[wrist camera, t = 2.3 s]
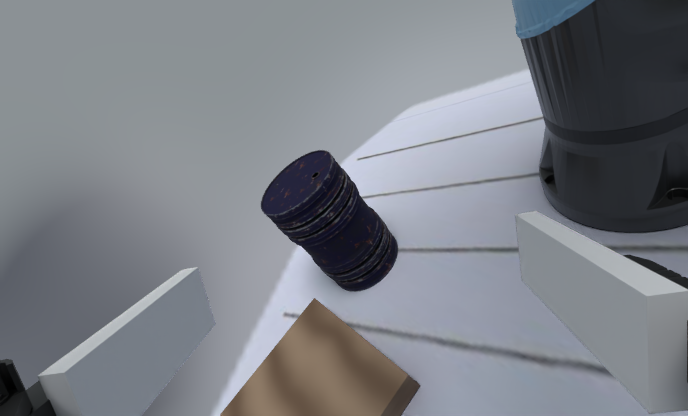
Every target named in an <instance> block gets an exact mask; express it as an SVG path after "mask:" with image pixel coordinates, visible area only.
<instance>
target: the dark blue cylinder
mask: <svg viewBox="0 0 688 416" xmlns="http://www.w3.org/2000/svg"><path fill="white" fill-rule="evenodd" d="M261 209H262V211H263V212H264V214H266V215H267V216H268V217H269V218H270V219H271V220H272V221H273V222H274V223H275V224H276V225H277V227H278V228H279V229H280V230H281V231H282V232H283V233H284V234H285V235H287V236H288V237H289V239H290V240H291V241H292V242H295V243H296V244H297V245H300V246H302V247H303V248H304V249H305V250H306V251H307V252H308V253H309V254H310V255H311V256H312V258H313V260H314V262H315V263H316V264H317V265H318V266H319V267H320V268H321V269H322V271H323V272H324V273H325V274H326V275H327V276H329V277H330V278H332V279H333V280H334V281H335V282H336V283H337V284H338V285H339V286H340V287H341V288H343V289H345V290H348V291H362V290H365V289H368V288H370V287H372V286H374V285H375V284H377V283H378V282H380V281H381V280H382V279H383V278H384V277H385V276H386V275H387V274H388V273H389V271H390V270H391V268H392V267H393V265H394V263H395V261H396V258H397V253H398V245H397V242H396V240H395V238H394V236H393V235H392V234H391V233H390V232H389V230H388V228H387V226H386V224H385V223H384V222H383V220H382V219H381V218H380V217H379V215H378V214H377V213H376V212H375V211H374V210H373V209H372V208H370V207H368V205H367V204H366V203H365V202H364V200H363V199H362V198H361V196H360V195H359V191H358V189H357V187H356V185H355V183H354V182H353V181H351V179H350V177H349V176H348V174H347V173H346V172H345V171H344V169H342V168H341V167H340V166H339V164H338V163H337V162H336V161H335V159H334V158H333V156H332V155H331V154H330V153H329V152H328V151H325V150H318V151H314V152H311V153H308V154H305V155H303V156H302V157H300V158H298V159H296V160H295V161H293V162H292V163H291V164H289V165H288V166H287V167H286V168H284V169H283V170H282V171H281V172H280V173H279V174H278V175H277V176H276V177H275V178H274V180H273V181H272V182H271V183H270V185H269V186H268V188H267V189H266V191H265V193H264V195H263V197H262V201H261Z"/></svg>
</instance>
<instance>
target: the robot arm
mask: <svg viewBox="0 0 688 416" xmlns="http://www.w3.org/2000/svg"><path fill="white" fill-rule="evenodd" d="M512 3H513V8H514V12H515V17H516V21H517V23H516V26H515V27H516V34H517V36H518V37H519V38H520V39H521V42H522V46H523V49H524V53H525V56H526V59H527V63H528V66H529V70H530V73H531V77H532V80H533V83H534V87H535V90H536V94H537V97H538V100H539V104H540V107H541V111H542V114H543V117H544V121H545V125H546V127H545V134H544V140H543V146H542V152H541V158H540V164H539V174H540V180H541V183H542V186H543V189H544V192H545V195H546V197H547V199H548V200H549V202H550V203H551V204H552V206H553V207H554V208H555V209H557V210H558V211H559V212H560V213H562V214H563V215H565V216H566V217H568V218H570V219H572V220H574V221H576V222H578V223H581V224H584V225H587V226H590V227H594V228H599V229H604V230H611V231H621V232H645V231H656V230H663V229H669V228H674V227H678V226H682V225H686V224H688V0H512ZM515 219H516V229H517V238H518V248H519V258H520V267H521V277H522V281H523V282H524V283H525V284H526V285H527V286H528V287H529V288H530V289H531V290H532V292H533V293H534V294H535V295H536V296H537V297H538V298H539V299H540V300H541V301H542V302H543V303H544V304H545V305H546V306H547V307H548V308H549V309H550V310H551V311H552V312H553V313H554V314H555V316H556V317H557V318H558V319H559V320H560V321H561V322H562V323H563V324H564V325H565V326H566V327H567V328H568V329H569V330H570V331H571V332H572V333H573V334H574V335H575V336H576V337H577V339H578V340H579V341H580V342H581V343H582V344H583V345H584V346H585V347H586V348H587V349H588V350H589V351H590V352H591V353H592V354H593V355H594V356H595V357H596V358H597V359H598V360H599V361H600V363H601V364H602V365H603V366H604V367H605V368H606V369H607V370H608V371H609V372H610V373H611V374H612V375H613V376H614V377H615V378H616V379H617V380H618V381H619V382H620V383H621V384H622V385H623V387H624V388H625V389H626V390H627V391H628V392H629V393H630V394H631V395H632V396H633V397H634V398H635V399H636V400H637V401H638V402H639V403H640V404H641V405H642V406H643V407H644V408H645V410H646V411H647V412H648V413H649V414H652V413H663V412H674V411H685V410H688V278H686V277H681V275H680V274H678V273H675V272H673V271H671V270H667V268H665V267H663V266H661V265H659V264H657V263H655V262H653V261H651V260H647V259H643V258H639V257H635V256H631V255H624V256H622V255H620V254H618V253H616V252H615V251H613V250H611V249H609V248H607V247H605V246H603V245H601V244H599V243H597V242H595V241H593V240H591V239H589V238H587V237H586V236H584V235H582V234H580V233H578V232H576V231H574V230H572V229H570V228H568V227H566V226H564V225H562V224H560V223H559V222H557V221H555V220H553V219H551V218H549V217H547V216H545V215H543V214H541V213H539V212H537V211H532V212H526V213H520V214H515ZM215 324H216V323H215V320H214V316H213V313H212V310H211V307H210V303H209V300H208V297H207V294H206V290H205V287H204V284H203V281H202V277H201V274H200V271H199V268H198V267H196V268H189V269H184V270H181V271H180V272H178V273H177V274H176V275H174V276H173V277H171V278H170V279H169V280H167V281H166V282H165V283H163V284H162V285H161V286H159V287H158V288H157V289H155V290H154V291H152V292H151V293H150V294H148V295H147V296H146V297H145V298H143V299H142V300H140V301H139V302H137V303H136V304H135V305H133V306H132V307H131V308H129V309H128V310H127V311H125V312H124V313H123V314H121V315H120V316H118V317H117V318H116V319H114V320H113V321H112V322H110V323H109V324H108V325H106V326H105V327H103V328H102V329H101V330H99V331H98V332H97V333H95V334H94V335H93V336H91V337H90V338H88V339H87V340H86V341H84V342H83V343H82V344H80V345H79V346H78V347H76V348H75V349H74V350H72V351H71V352H69V353H68V354H67V355H65V356H64V357H63V358H61V359H60V360H59V361H57V362H56V363H55V364H53V365H52V366H50V367H49V368H48V369H46V370H45V371H44V372H42V373H41V374H39V375H38V378H39V381H38V382H37V383H35V384H34V385H33V386H31V387H30V388H29V389H27V390H25V387H24V385H23V383H22V381H21V379H20V377H19V374H18V372H17V370H16V368H15V365H14V363H13V361H12V360H9V359H5V360H0V416H142V414H143V413H144V412H145V411H146V409H147V408H148V407H149V406H150V404H151V403H152V402H153V401H154V400H155V398H156V397H157V396H158V395H159V393H160V392H161V391H162V390H163V388H164V387H165V386H166V385H167V384H168V382H169V381H170V380H171V379H172V377H173V376H174V375H175V374H176V372H177V371H178V370H179V369H180V368H181V366H182V365H183V363H185V361H186V360H187V359H188V358H189V356H190V355H191V354H192V353H193V352H194V350H195V349H196V348H197V347H198V345H199V344H200V343H201V342H202V340H203V339H204V338H205V337H206V335H207V334H208V333H209V332H210V331H211V329H212V328H213V327H214V326H215Z"/></svg>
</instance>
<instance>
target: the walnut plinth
mask: <svg viewBox="0 0 688 416" xmlns="http://www.w3.org/2000/svg"><path fill="white" fill-rule="evenodd" d="M419 387H420V385H419V384H418V383H417V382H416V381H415V380H414V379H412V378H411V377H410V376H409V375H408V374H407V373H405V372H404V371H403V370H402V369H401V368H399V367H398V366H397V365H396V364H394V363H393V362H392V361H391V360H390V359H388V358H387V357H386V356H385V355H383V354H382V353H381V352H380V351H379V350H377V349H376V348H375V347H374V346H372V345H371V344H370V343H369V342H368V341H366V340H365V339H364V338H363V337H361V336H360V335H359V334H358V333H357V332H355V331H354V330H353V329H352V328H350V327H349V326H348V325H347V324H346V323H344V322H343V321H342V320H341V319H339V318H338V317H337V316H336V315H335V314H333V313H332V312H331V311H330V310H328V309H327V308H326V307H325V306H324V305H322V304H321V303H320V302H319V301H317V300H316V299H315V298H314V299H313V300H312V302H311V303H310V304H309V305H308V307H307V308H306V309H305V310H304V312H303V313H302V314H301V315H300V316H299V318H298V319H297V320H296V321H295V323H294V324H293V325H292V326H291V328H290V329H289V330H288V331H287V333H286V334H285V335H284V336H283V338H282V339H281V340H280V341H279V343H278V344H277V345H276V346H275V347H274V349H273V350H272V351H271V352H270V354H269V355H268V356H267V357H266V359H265V360H264V361H263V362H262V364H261V365H260V366H259V367H258V369H257V370H256V371H255V372H254V374H253V375H252V376H251V377H250V378H249V380H248V381H247V382H246V383H245V385H244V386H243V387H242V388H241V390H240V391H239V392H238V393H237V395H236V396H235V397H234V398H233V400H232V401H231V402H230V403H229V405H228V406H227V407H226V408H225V409H224V411H223V412H222V413H221V414H220V416H401V414H402V413H403V411H404V410H405V408H406V407H407V405H408V404H409V402H410V401H411V399H412V398H413V396H414V395H415V393H416V391H417V390H418V388H419Z"/></svg>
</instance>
